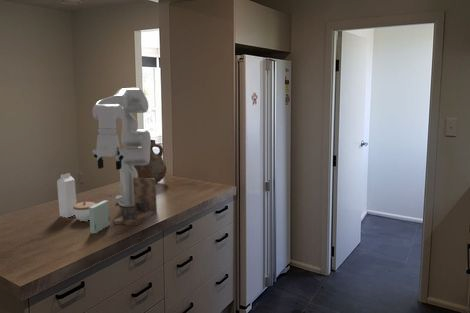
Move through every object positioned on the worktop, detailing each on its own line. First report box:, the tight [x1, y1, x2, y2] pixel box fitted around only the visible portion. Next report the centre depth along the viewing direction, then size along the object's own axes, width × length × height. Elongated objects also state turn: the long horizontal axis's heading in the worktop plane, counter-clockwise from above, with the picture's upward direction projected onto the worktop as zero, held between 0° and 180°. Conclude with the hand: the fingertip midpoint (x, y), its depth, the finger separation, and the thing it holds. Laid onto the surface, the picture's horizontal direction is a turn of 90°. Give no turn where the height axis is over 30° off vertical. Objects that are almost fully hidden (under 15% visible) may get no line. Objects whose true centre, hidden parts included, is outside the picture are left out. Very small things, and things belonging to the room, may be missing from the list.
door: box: [89, 199, 111, 234], centre depth 187 cm, size 2×12×12 cm, turn 165°
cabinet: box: [113, 177, 158, 226], centre depth 202 cm, size 12×22×18 cm, turn 165°
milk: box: [56, 172, 77, 218], centre depth 205 cm, size 6×6×22 cm
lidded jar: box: [73, 200, 97, 222], centre depth 200 cm, size 11×11×9 cm
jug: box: [133, 139, 167, 186], centre depth 271 cm, size 22×22×30 cm
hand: (109, 168), depth 188 cm, fingers open, 9 cm apart
